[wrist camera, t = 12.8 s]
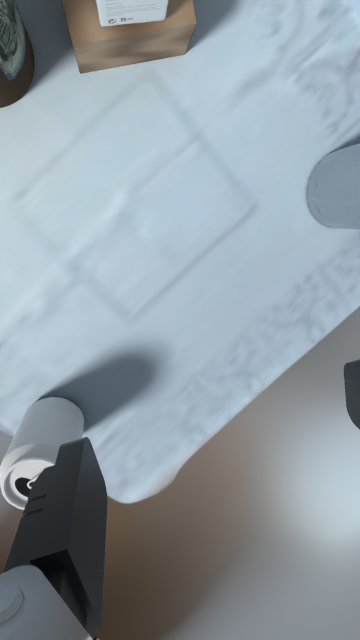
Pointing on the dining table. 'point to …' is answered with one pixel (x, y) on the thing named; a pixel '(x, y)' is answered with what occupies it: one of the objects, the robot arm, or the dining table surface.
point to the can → (38, 445)
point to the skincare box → (130, 11)
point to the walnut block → (127, 36)
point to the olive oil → (13, 55)
